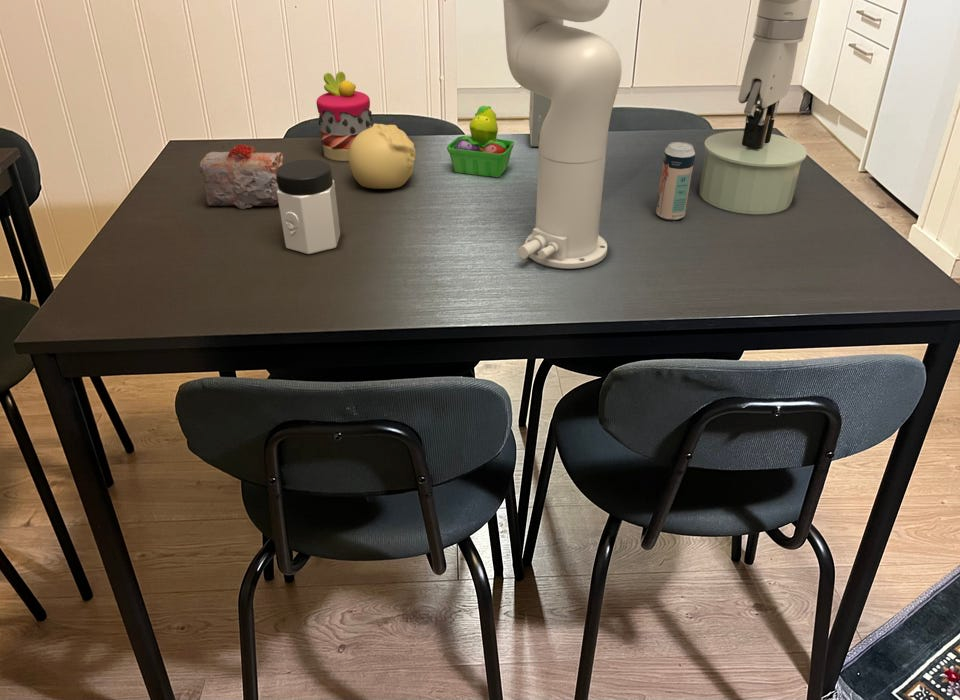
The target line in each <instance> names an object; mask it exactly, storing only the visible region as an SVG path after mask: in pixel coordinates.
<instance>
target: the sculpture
mask: <svg viewBox="0 0 960 700" xmlns="http://www.w3.org/2000/svg"><path fill="white" fill-rule="evenodd" d="M416 152H417V151H416V148H415V144H414V142H413V141H412V140H411V139H410V138H409V137H408V135H407V133H406V132H405V131H403V130H402V129H399V128H398V126H397V125H396V124H383V123H373V125H371V128H368V129H366V130H364V131H362V132H361V133H359V134H358V135H357V136H356V137H355V139H354V140H353V142H352V144H351V147H350V151H349V161H348V164H349V168H350V171H351V174H352V176H353V178H354V180H355V181H356V183H358V184H359V185H360V186H361V187H364V188H368V189H376V190H389V189H397V188H401V187H403V185H405V184H406V183H407V181H409V179H410V177H411V176H412V175H413V172H414V165H415V160H416V157H417V155H416V154H417V153H416Z"/></svg>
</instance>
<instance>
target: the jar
mask: <svg viewBox="0 0 960 700" xmlns="http://www.w3.org/2000/svg"><path fill="white" fill-rule="evenodd" d="M276 180H277V184H278V188H279V189H278V191H277V196H278V202H279V203H278V207H279V208H278V209H279V214H280V220H281V226H282V227H281V228H282V233H283V238H284V244H285V248H286V249H287V250H292V251H295V252H299V253H302V254H305V255H312V254H317V253H321V252H326V251H329V250H333V249H337V246H338V244H339V241H340V237H341V228H340V227H341V226H340V219H339V211H338V202H337V193H336V184H335V180H334V179H333V171H332V167H331V164H329V163H328V162H326V161H323V160H319V159H297V160H292V161H288V162H284V163H282V165H281V166H280V167H278V168H277V170H276Z"/></svg>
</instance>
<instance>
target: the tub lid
mask: <svg viewBox="0 0 960 700" xmlns="http://www.w3.org/2000/svg"><path fill="white" fill-rule="evenodd" d="M760 114H761V112H760ZM769 120H770V114H769V113H766V117H765V121H764V125H766V126H765V131H764V136H763V141H762V145H761V148H759V149H755V148H751V147H747V146H743V145H742V140H743V135H744V130H730V131H723V132H718V133H714V134H712V135H709V136H708V137H707V138H706V139H705V140H704V143H703V147H704V149H705V151H706V150H707V151H708V152H709V153H710V154H712V155H713V156H715V157H718V158H720V159H723V160H726V161H729V162H733V163H737V164H742V165H749V166H758V167H781V166H788V165H793V164H797V163H799V162H801V161H802V162H803V161H804V160H805V159H806V157H807V155H808V151H807V149H806V147H805V146H804V145H803V144H801V143H800V142H798V141H796V140H794V139H791V138H788V137H786V136H782V135H778V134H774V133H772V134H771V139H770V142H769V143H765V139H766V134H767V129H768V125H769ZM802 162H801V163H802Z"/></svg>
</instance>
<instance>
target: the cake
mask: <svg viewBox="0 0 960 700" xmlns="http://www.w3.org/2000/svg"><path fill="white" fill-rule="evenodd" d="M323 81H324V83H325V84H324V85H323V89H324V90H325V93H323V94H321V95H319V96H318V97H317V99H316V101H315V102H316V109H317V112H318V118H319V119H318V126H320V130H319V132H318V133H319V135H321V136H322V138H321V144H322V148H323V155H324V157H325V158H327V159H330V160H333V161H338V162H349V151H350V147H351V144H352V142H353V140H354V139H355V137H356V136H357V135H358V134H359V133H361V132H362V131H364V130H366V129H368V128H371V127H372V125H371V124H372V123H371V122H372V121H373V116H372V110H370V108H371V99H370V97H369V95H368V94H366V93H364V92H362V91H358V90H356V86H357V85H356V84H355V83H353V82H352V81H350V80H346V75H345V73H344V72H343V71H338V72H337V73H336V74H335V77H334V75H333V74H332V73H330V72H326V73H325V74H323Z"/></svg>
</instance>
